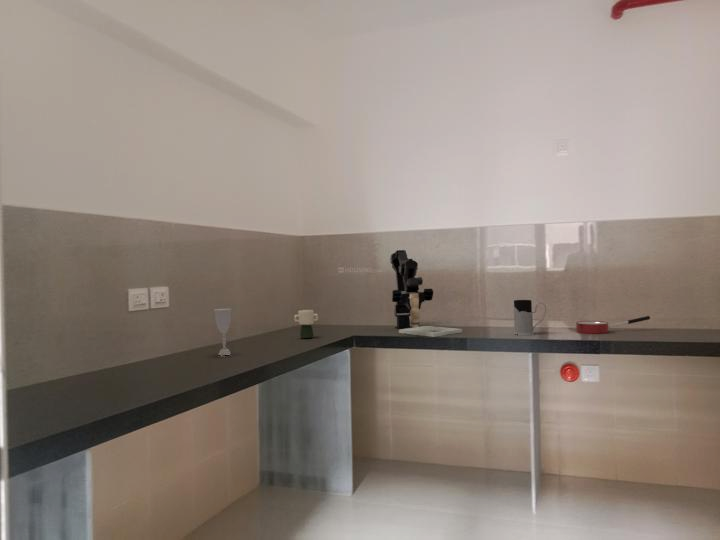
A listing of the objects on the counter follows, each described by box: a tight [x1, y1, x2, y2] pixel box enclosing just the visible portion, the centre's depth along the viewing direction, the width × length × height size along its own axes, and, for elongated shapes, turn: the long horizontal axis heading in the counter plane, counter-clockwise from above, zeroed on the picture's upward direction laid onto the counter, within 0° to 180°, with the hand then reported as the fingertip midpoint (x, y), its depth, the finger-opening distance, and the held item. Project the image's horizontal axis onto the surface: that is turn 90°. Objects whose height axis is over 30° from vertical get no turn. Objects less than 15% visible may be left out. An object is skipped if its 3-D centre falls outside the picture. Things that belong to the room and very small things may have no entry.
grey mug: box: [513, 299, 547, 336], centre depth 235 cm, size 9×14×15 cm, turn 78°
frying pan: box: [575, 315, 651, 335], centre depth 236 cm, size 32×13×6 cm, turn 97°
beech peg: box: [409, 293, 421, 328], centre depth 240 cm, size 4×4×15 cm
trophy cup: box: [293, 309, 319, 339], centre depth 248 cm, size 11×7×13 cm, turn 98°
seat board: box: [398, 325, 463, 338], centre depth 253 cm, size 23×19×2 cm
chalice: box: [213, 308, 232, 357], centre depth 208 cm, size 7×7×18 cm
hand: (415, 309), depth 239 cm, fingers closed on beech peg, 4 cm apart
